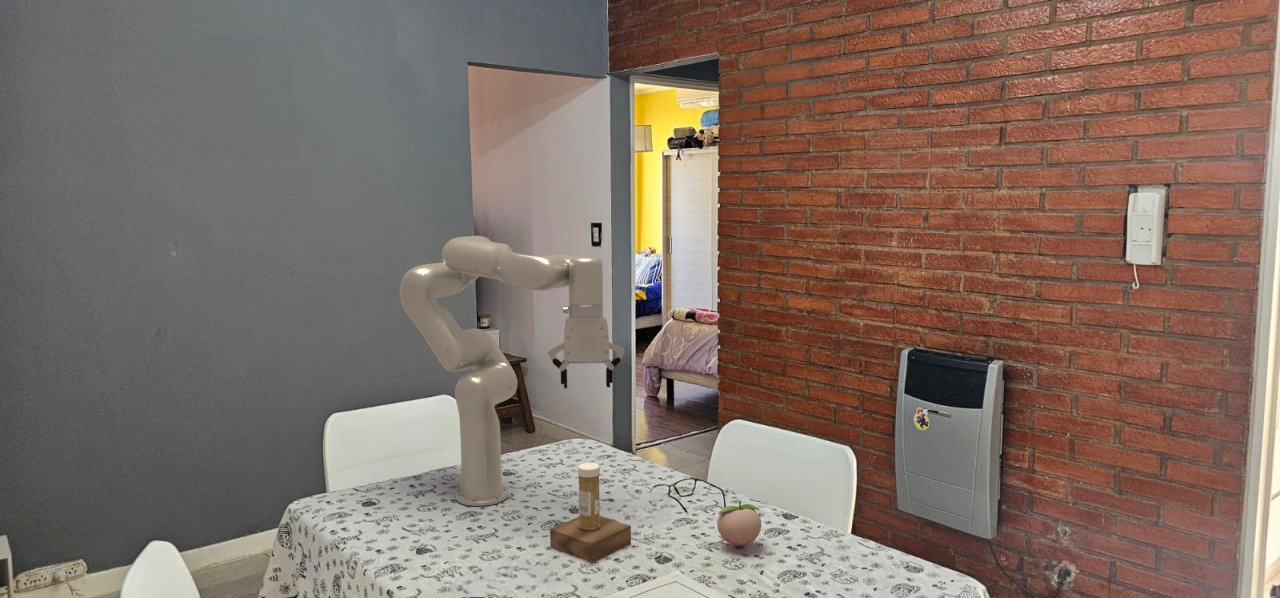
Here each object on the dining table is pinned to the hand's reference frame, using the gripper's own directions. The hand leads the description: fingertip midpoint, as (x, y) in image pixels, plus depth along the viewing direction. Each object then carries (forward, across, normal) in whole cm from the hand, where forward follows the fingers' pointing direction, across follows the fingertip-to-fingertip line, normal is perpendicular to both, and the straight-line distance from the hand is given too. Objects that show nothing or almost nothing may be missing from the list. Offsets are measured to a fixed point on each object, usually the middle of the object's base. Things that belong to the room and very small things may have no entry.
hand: (586, 386), depth 191 cm
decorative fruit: (+31, +31, -21) cm, 48 cm away
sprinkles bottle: (+26, 0, -17) cm, 31 cm away
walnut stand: (+30, 0, -17) cm, 35 cm away
